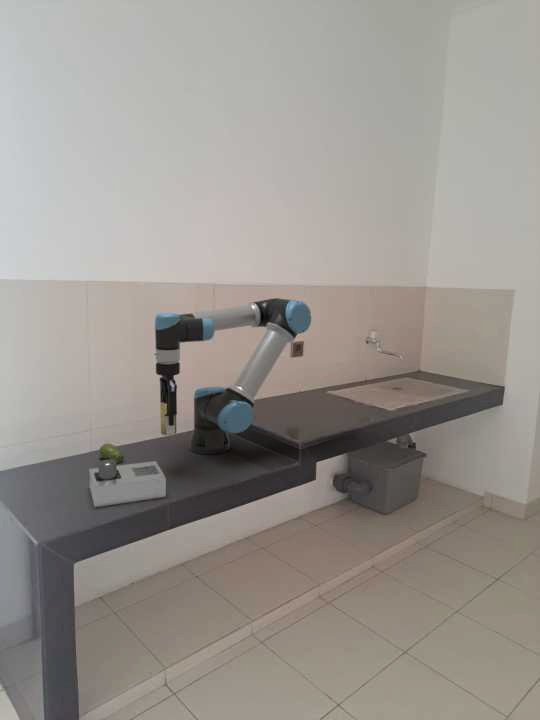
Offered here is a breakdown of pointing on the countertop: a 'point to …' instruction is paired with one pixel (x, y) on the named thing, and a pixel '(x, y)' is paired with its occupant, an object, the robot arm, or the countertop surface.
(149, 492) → the block
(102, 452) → the pear
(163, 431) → the yellow piece
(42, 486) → the countertop surface
